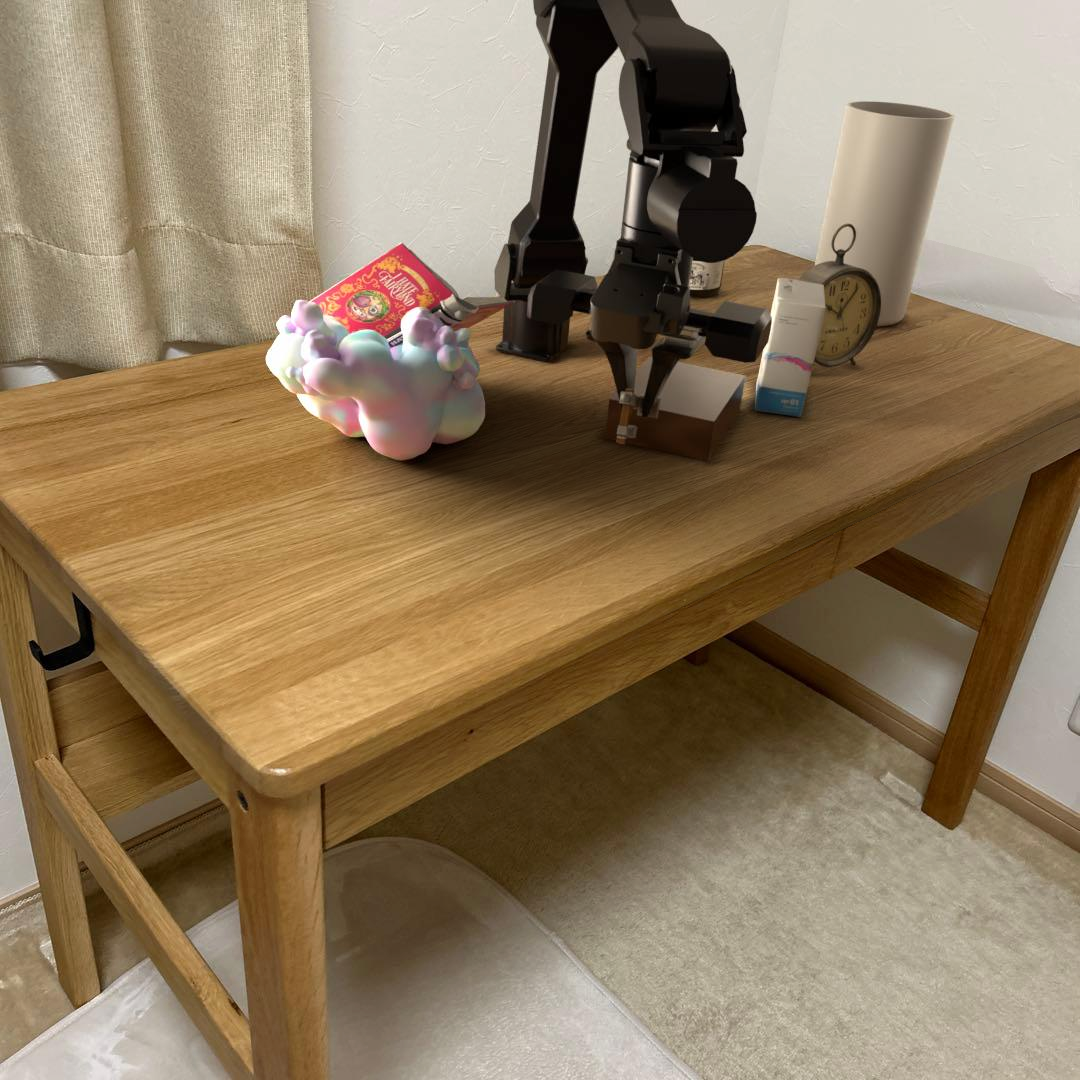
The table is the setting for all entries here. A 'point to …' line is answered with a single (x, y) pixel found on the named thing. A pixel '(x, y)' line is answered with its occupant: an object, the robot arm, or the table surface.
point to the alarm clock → (844, 307)
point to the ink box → (790, 347)
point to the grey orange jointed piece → (629, 403)
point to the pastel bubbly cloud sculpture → (387, 356)
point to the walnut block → (683, 410)
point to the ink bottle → (705, 278)
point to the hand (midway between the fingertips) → (635, 413)
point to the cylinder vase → (885, 193)
